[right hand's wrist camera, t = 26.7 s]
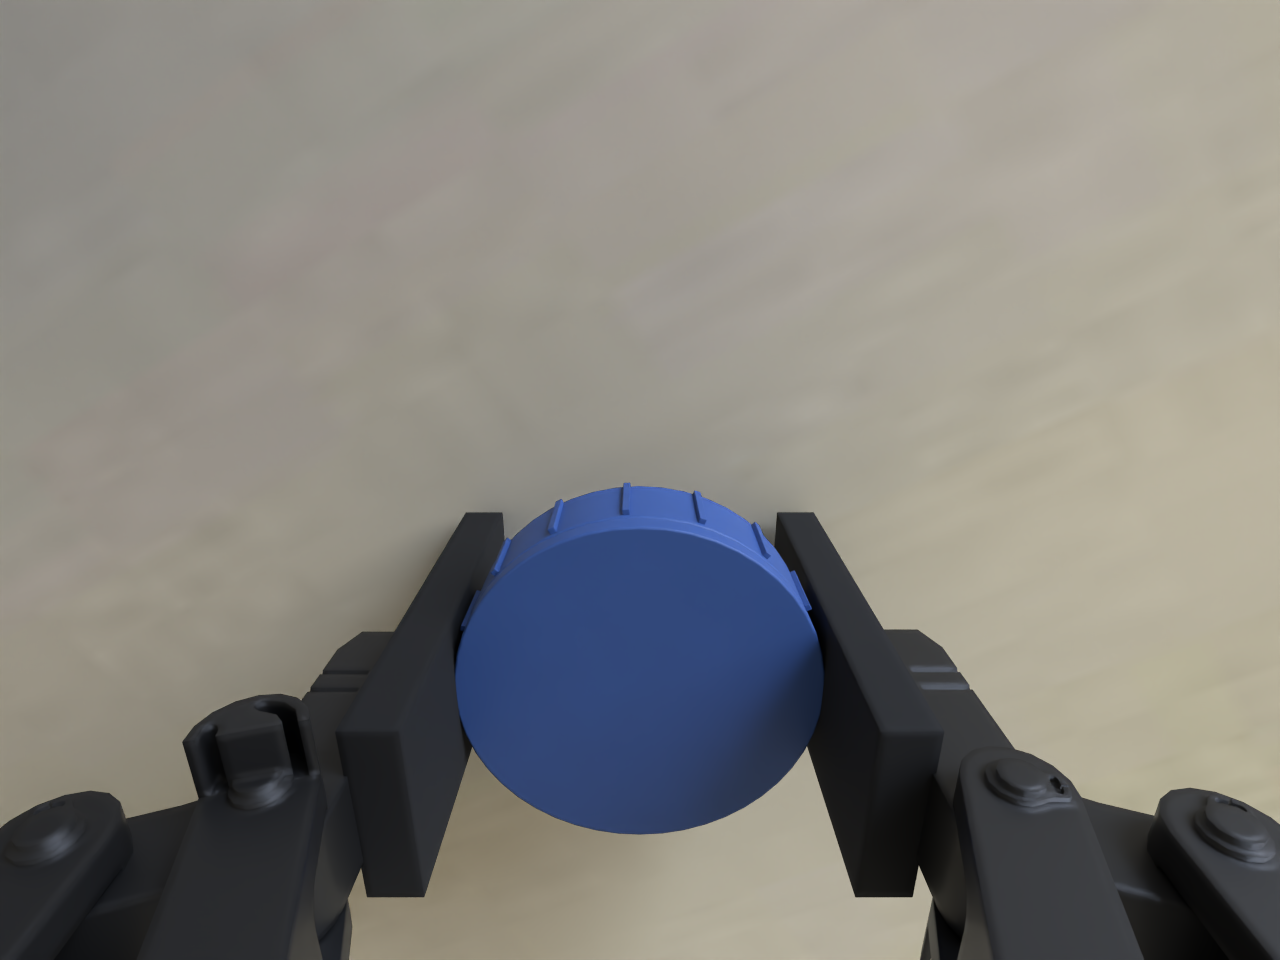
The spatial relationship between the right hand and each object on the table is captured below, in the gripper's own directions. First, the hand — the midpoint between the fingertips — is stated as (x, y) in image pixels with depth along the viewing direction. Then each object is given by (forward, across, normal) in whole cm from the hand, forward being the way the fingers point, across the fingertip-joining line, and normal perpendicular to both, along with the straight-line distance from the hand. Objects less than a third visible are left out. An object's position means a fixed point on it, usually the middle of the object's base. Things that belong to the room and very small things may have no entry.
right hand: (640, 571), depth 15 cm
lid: (-4, 0, 0) cm, 4 cm away
